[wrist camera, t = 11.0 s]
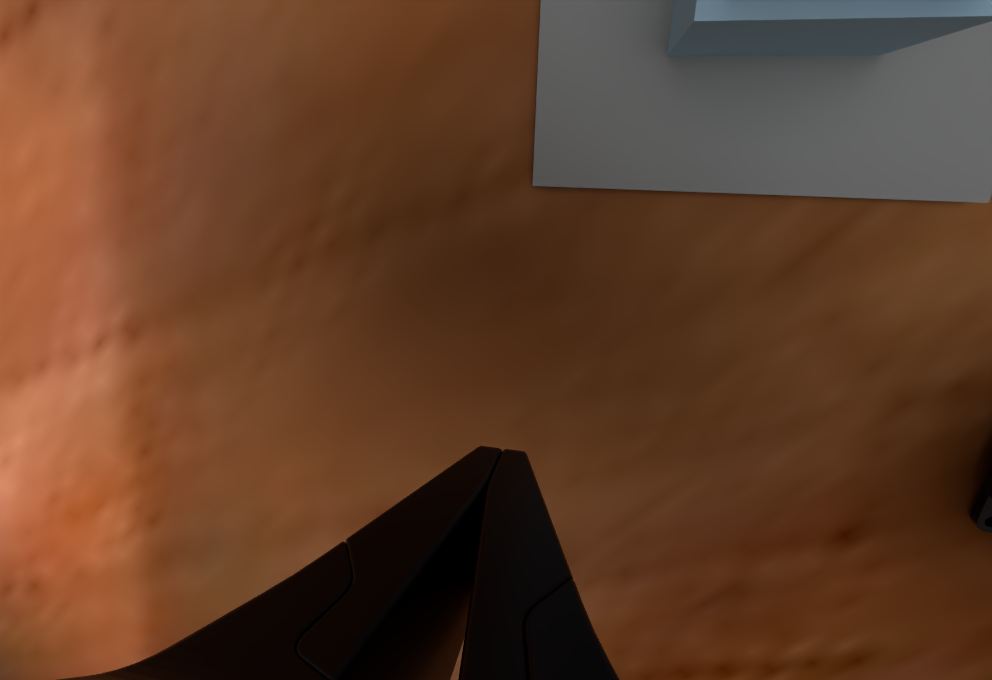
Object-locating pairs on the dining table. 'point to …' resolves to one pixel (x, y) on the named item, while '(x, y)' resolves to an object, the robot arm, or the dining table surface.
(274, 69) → the dining table surface
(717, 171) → the base mat
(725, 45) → the bottom brick
